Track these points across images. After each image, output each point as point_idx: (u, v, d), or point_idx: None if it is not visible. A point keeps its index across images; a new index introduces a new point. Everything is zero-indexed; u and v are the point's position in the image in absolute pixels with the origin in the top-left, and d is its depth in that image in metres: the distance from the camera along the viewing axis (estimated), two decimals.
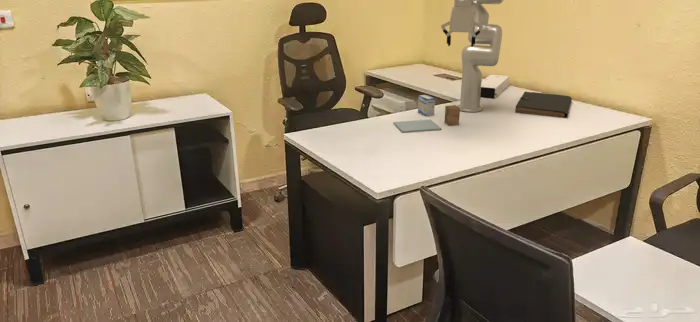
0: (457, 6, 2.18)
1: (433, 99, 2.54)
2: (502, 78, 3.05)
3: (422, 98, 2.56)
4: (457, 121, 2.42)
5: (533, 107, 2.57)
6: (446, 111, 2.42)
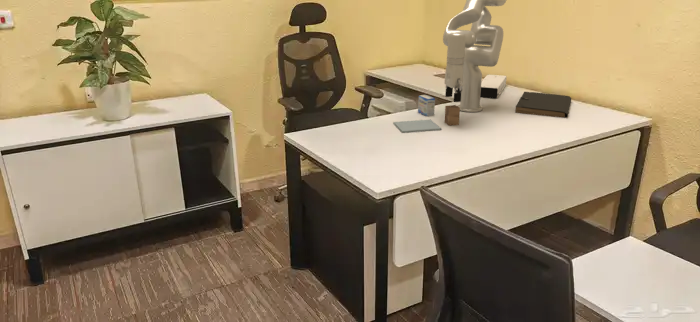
0: (463, 63, 2.33)
1: (433, 99, 2.54)
2: (500, 78, 3.06)
3: (422, 98, 2.56)
4: (457, 121, 2.42)
5: (533, 107, 2.57)
6: (446, 111, 2.42)
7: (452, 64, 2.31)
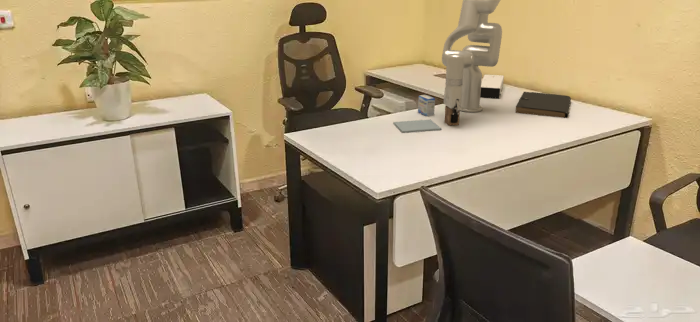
0: (462, 84, 2.36)
1: (433, 99, 2.54)
2: (499, 78, 3.07)
3: (422, 98, 2.56)
4: None
5: (533, 107, 2.57)
6: (446, 111, 2.42)
7: (451, 85, 2.34)
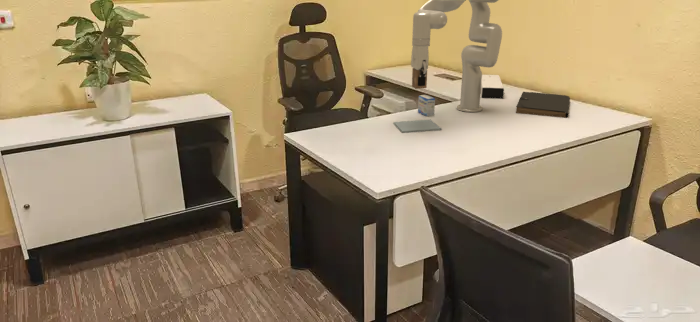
0: (429, 44, 2.26)
1: (433, 99, 2.54)
2: (496, 77, 3.07)
3: (422, 98, 2.56)
4: (425, 84, 2.31)
5: (534, 107, 2.57)
6: (413, 74, 2.32)
7: (417, 45, 2.24)
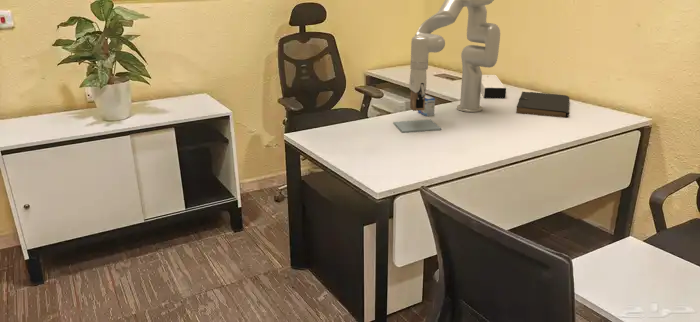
0: (427, 67, 2.29)
1: (433, 99, 2.54)
2: (494, 77, 3.08)
3: None
4: None
5: (534, 107, 2.57)
6: (411, 96, 2.35)
7: (415, 68, 2.27)
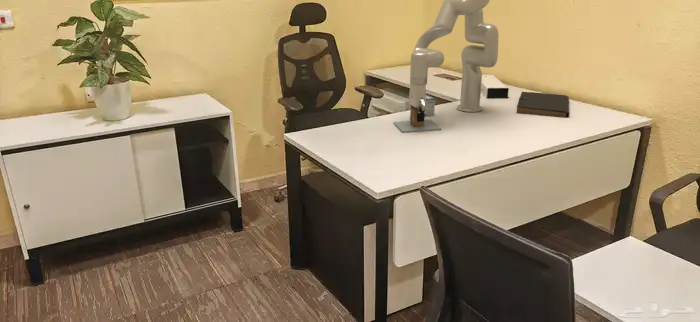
0: (426, 82, 2.31)
1: (433, 99, 2.54)
2: (492, 77, 3.08)
3: None
4: (422, 122, 2.37)
5: (534, 107, 2.57)
6: (411, 112, 2.38)
7: (415, 84, 2.30)
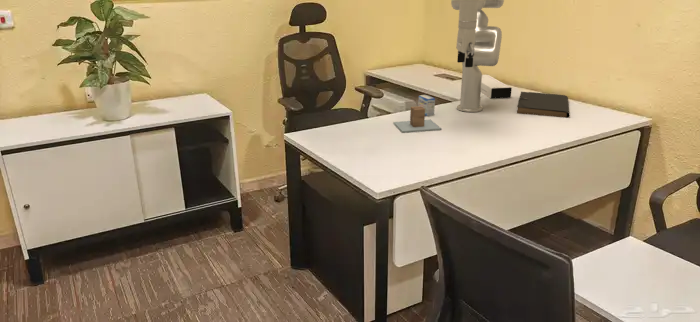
0: (476, 27, 2.25)
1: (433, 99, 2.54)
2: (489, 77, 3.08)
3: (422, 98, 2.56)
4: (422, 122, 2.37)
5: (535, 107, 2.56)
6: (411, 112, 2.38)
7: (464, 28, 2.24)
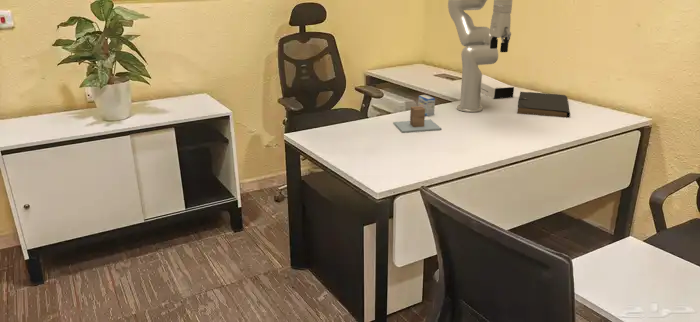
0: None
1: (433, 99, 2.54)
2: (487, 77, 3.08)
3: (422, 98, 2.56)
4: (422, 122, 2.37)
5: (535, 107, 2.56)
6: (411, 112, 2.38)
7: (499, 12, 2.23)
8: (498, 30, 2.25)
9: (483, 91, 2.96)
